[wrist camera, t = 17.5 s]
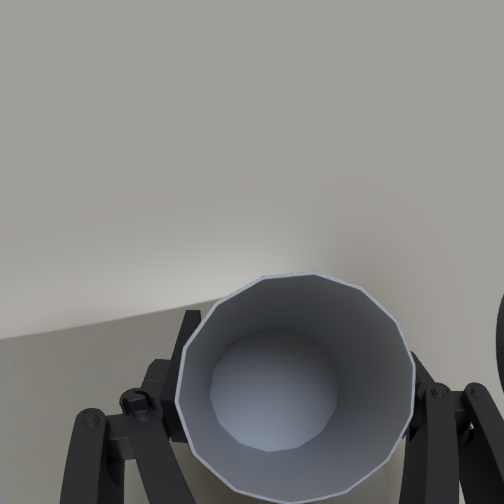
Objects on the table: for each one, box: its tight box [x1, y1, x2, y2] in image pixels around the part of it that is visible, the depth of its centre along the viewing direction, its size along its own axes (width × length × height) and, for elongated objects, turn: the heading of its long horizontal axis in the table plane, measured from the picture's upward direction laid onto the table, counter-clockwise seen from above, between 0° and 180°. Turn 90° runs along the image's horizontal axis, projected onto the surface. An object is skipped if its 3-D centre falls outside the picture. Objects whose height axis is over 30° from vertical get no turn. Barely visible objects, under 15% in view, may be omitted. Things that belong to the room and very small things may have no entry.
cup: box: [175, 271, 416, 504], centre depth 13 cm, size 8×8×10 cm
